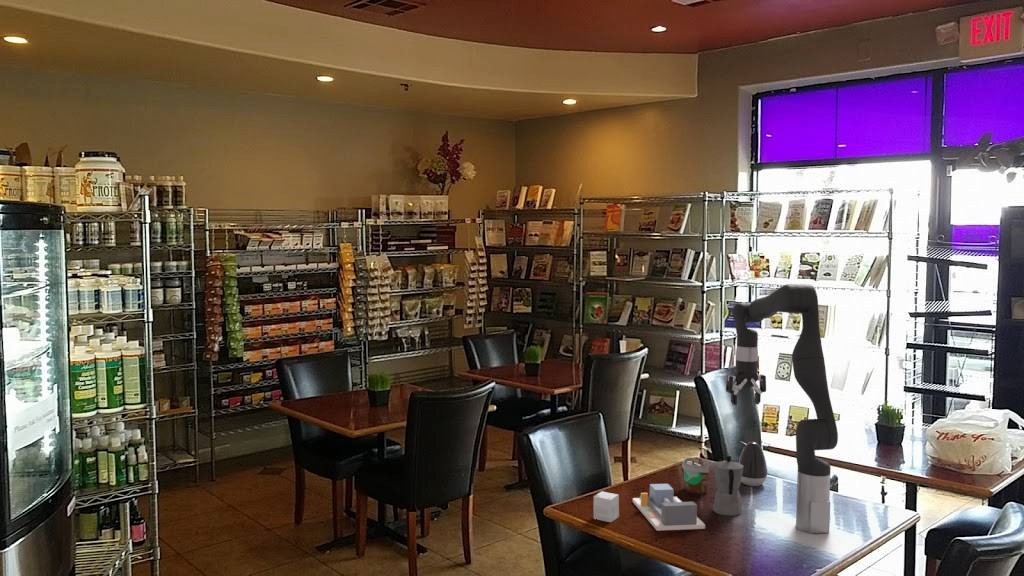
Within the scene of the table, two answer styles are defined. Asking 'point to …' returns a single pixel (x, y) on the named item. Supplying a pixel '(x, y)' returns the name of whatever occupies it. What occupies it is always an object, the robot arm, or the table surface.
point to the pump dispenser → (753, 464)
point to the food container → (695, 476)
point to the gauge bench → (658, 522)
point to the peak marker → (644, 499)
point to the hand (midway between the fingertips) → (745, 404)
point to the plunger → (660, 494)
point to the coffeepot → (728, 487)
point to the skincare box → (606, 506)
